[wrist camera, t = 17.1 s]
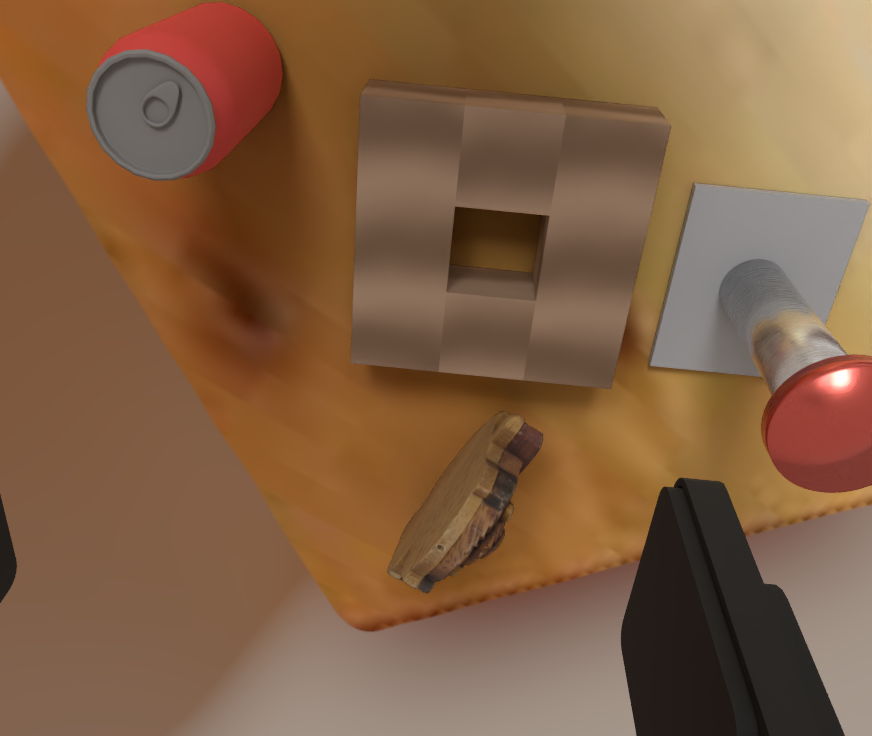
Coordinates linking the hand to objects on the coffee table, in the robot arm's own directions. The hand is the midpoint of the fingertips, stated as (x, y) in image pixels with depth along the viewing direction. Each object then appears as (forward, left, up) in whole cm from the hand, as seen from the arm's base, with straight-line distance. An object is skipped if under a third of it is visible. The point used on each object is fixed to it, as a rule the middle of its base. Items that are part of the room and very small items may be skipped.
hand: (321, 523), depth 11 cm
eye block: (+10, +4, -38) cm, 40 cm away
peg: (+12, +20, -38) cm, 44 cm away
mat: (+12, +20, -38) cm, 45 cm away
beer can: (+2, -12, -38) cm, 40 cm away
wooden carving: (+28, +4, -39) cm, 48 cm away
